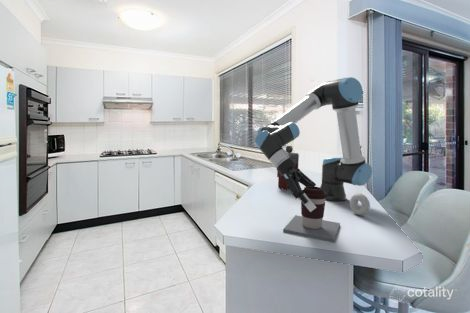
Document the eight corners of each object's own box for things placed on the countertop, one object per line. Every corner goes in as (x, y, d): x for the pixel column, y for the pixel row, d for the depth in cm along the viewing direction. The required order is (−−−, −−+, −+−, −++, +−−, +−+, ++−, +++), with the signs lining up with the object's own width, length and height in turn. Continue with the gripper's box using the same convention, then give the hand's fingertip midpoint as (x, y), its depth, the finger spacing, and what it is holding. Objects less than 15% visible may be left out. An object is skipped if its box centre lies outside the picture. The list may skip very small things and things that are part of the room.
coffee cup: (315, 233, 92) (317, 192, 90) (293, 225, 100) (295, 187, 98) (330, 226, 98) (332, 188, 97) (308, 219, 106) (310, 184, 104)
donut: (370, 218, 112) (372, 196, 111) (365, 219, 111) (366, 196, 110) (353, 211, 121) (354, 190, 120) (347, 212, 120) (348, 191, 119)
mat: (295, 217, 111) (295, 215, 111) (339, 225, 103) (339, 223, 103) (283, 231, 95) (283, 229, 95) (334, 242, 87) (334, 239, 87)
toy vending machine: (275, 187, 168) (276, 145, 165) (287, 186, 174) (289, 145, 171) (284, 190, 160) (286, 146, 157) (297, 188, 166) (299, 146, 163)
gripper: (287, 165, 116) (319, 203, 109) (263, 172, 95) (300, 220, 88) (299, 154, 112) (333, 193, 106) (277, 159, 91) (317, 207, 85)
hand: (318, 205), depth 97 cm, fingers open, 13 cm apart
